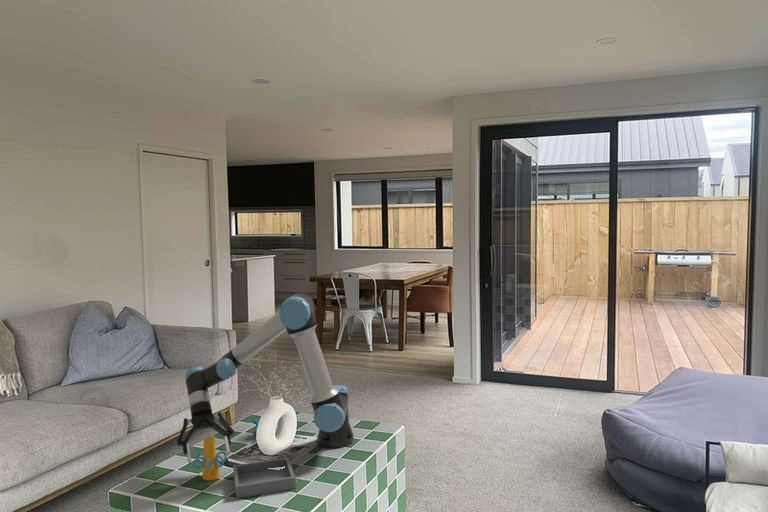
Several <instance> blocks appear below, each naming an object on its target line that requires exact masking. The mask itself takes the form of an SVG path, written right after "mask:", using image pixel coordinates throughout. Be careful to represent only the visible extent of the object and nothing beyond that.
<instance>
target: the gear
mask: <svg viewBox="0 0 768 512" xmlns="http://www.w3.org/2000/svg"><path fill="white" fill-rule="evenodd" d="M259 421H260V420H258V419H256V418H253V419H252V422H253V424H254V425H256V427H257V426H258V423H259ZM254 432H255V433H254V434H253V437H254V438H256V437H257V435H256V431H254ZM255 436H256V437H255Z"/></svg>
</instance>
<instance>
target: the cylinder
mask: <svg viewBox="0 0 768 512" xmlns="http://www.w3.org/2000/svg"><path fill="white" fill-rule="evenodd" d="M202 441H203V452H198V453H197V454H196V457H195V459H194V460H193V463H192V466H193V467H194V468H195V469H198V470H200V469H201V475H202V479H203V480H204V481H208V482H209V481H214V480H217V479H219V477H220V476H221V475H220V468H222V467H223V466H224V464H225V461H226V460H227V458H228V456H227V452H226V451H224V450H221V451H220V450H219V451H218V452H217V453H216V437H215V435H213V434H209V435H208V434H207V435H204V436H203V437H202ZM222 454H223V455H224V458H223V456H222ZM218 458H219V459H220V460H219V459H218ZM196 462H197V463H199V464H200V465H199V466H198V465H197V464H196Z"/></svg>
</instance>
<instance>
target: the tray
mask: <svg viewBox="0 0 768 512" xmlns="http://www.w3.org/2000/svg"><path fill="white" fill-rule="evenodd" d="M284 466H285V468H283V469H280V470H266V469H268V468H275V467H276V468H277V467H284ZM232 468H233V482H234V490H235V492H234V493H235V499H236V498H237V499H243V498H248V497H253V496H254V497H255V496H260V495H268V494H272V493H278V492H285V491H290V490H296V489H297V487H296V485H297V483H296V475H295V473H294V470H293V469H294V468H293V467H292V464H291V461H290V459H289V457H282V458H275V459H269V460H262V461H255V462H249V463H242V464H235V465H233V467H232Z"/></svg>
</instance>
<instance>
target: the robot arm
mask: <svg viewBox="0 0 768 512" xmlns="http://www.w3.org/2000/svg"><path fill="white" fill-rule="evenodd" d="M315 307H316V306H315V303H314V299H313V298H312V297H311V296H310V295H309V294H307V293H304V292H296V293H294V294H292V295H290V296H289V297H288V298H286V299H285V300H284V301H283V302H281V305H280V307H279V308H278V312H277V313H276V314H274V315H273V316H271V318H269V319H267V321H266V322H264V323H263V324H262V325H261V326H260V327H258V328H257V329H256V330H255V331H253V332H252V333H251V334H249V335H248V336H247V337H246V338H244V339H243V340H242V341H240V342H239V343H238V344H237V345H235V346H234V347H233V348H232V349H230V350H229V351H228V352H227V353H225V354H223V356H221V358H220V359H218V360H217V361H216V362H214V363H213V364H211V365H209V366H207V367H204V368H203V367H202V366H195V367H190V368H189V369H187V370H186V371H185V374H184V375H185V376H184V377H185V385H186V391H187V396H188V403H189V408H190V414H191V415H190V416H191V419H190V418H189V419H188V418H187V417H185V418H183V425H182V427H181V428H182V429H181V431H180V433H179V435H178V438H177V441H176V445H177V446H178V447H180V446H181V447H182V452H183V455H186V456H187V463H188V464H191V463H192V457H191V448H190V444H189V442H190V440H191V438H192V437H193V436H194V434H195V433H196V431H197V430H203V429H209V428H211V429H212V430H214V431H216V432H218V434H220V435H221V436H223V441H224V446H225V447H224V448H225V453H226V454H227V457H228V456H230V452H231V449H230V446H231V444H232V441H231V437H232V436H234V433H235V430H234V429H233V428H232V426H230V424H229V422H227V421H226V420H225V418H224V417H223V414H222V412H218V413H217V414H214V413H213V409H212V403H211V400H210V394H209V389H210V388H212V387H213V386H216V385H217V384H219V383H222V382H224V381H225V380H226V381H227V380H229V379H230V378H232V377H233V376H235V375H236V373H237V369H239V367H241V366H242V365H243V364H244V363H246V362H247V361H249V359H251V358H252V357H253V356H255V355H256V354H257V353H259V352H260V351H261V350H262V349H264V348H265V347H266V346H267V345H269V344H270V343H271V342H273V341H274V340H275V339H276V338H277V337H278V338H279V336H280V335H281V334H282V333H284V332H285V331H286V332H287V335H288V336H290V337H291V338H293V341H294V344H295V346H296V349H297V353H298V355H299V359H300V361H301V364H302V368H303V370H304V373H305V375H306V379H307V383H308V386H309V388H310V391H311V394H312V396H311V398H310V401H309V402H310V403H311V407H312V410H313V421H314V424H315V425H316V427H317V428H318V433H317V436H316V437H317V438H316V439H317V441H318V442H317V444H318V446H321V447H324V448H328V449H335V448H342V447H346V446H349V445H351V444H352V443H354V441H355V435H354V432H353V430H352V427H351V424H350V419H349V416H350V415H349V391H348V390H349V389H348V387H347V386H345V385H340V384H339V385H333V382H332V379H331V375H330V373H329V369H328V366H327V363H326V360H325V357H324V355H323V352H322V349H321V348H322V347H321V346H320V342H319V339H318V337H317V334H316V328H317V326H318V324H317V320H316V317H315V315H314V312H315ZM215 419H216V421H218V422H219V424H220V425H219V424H218V423H217V422H216V421H215ZM190 424H192V427H191V429H190V431H189V432H188V433H187V434H186V436H185V433H186V431H187V428H188V426H190ZM184 436H185V437H184Z"/></svg>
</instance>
